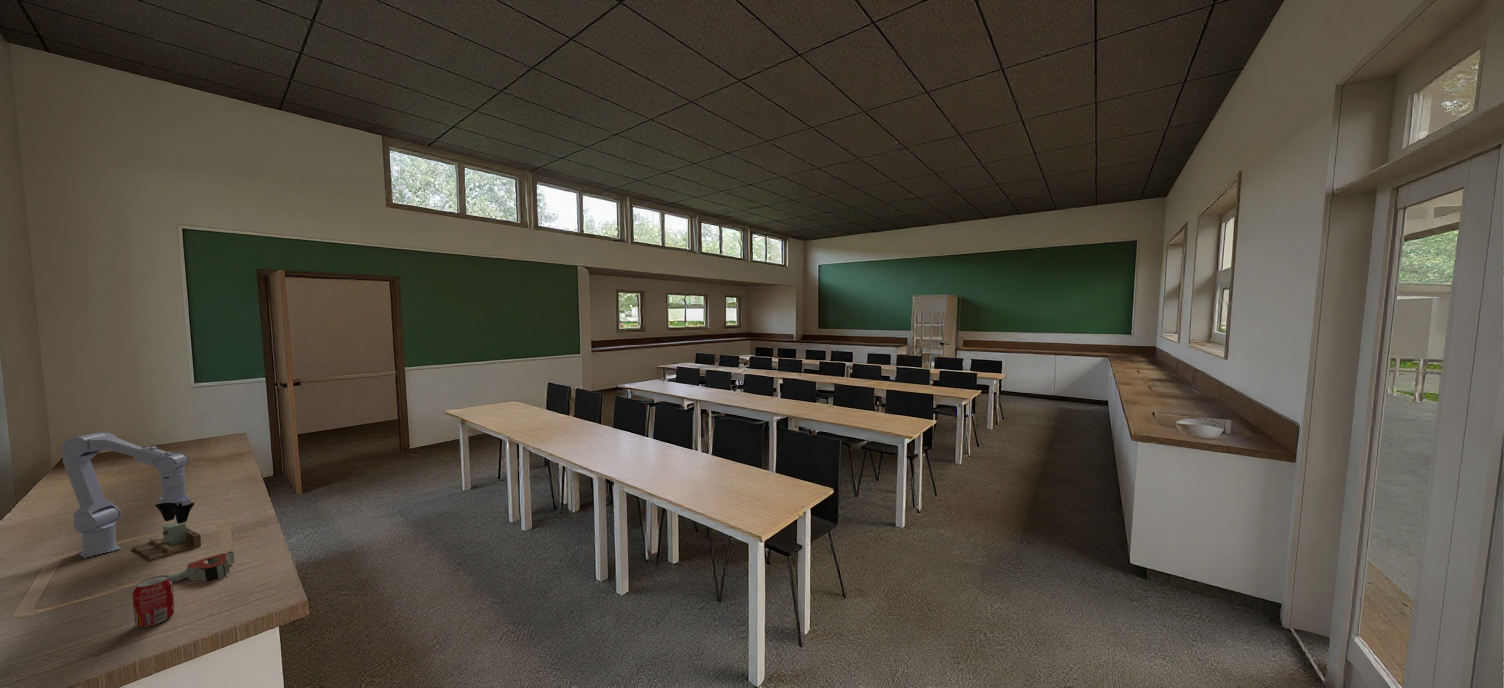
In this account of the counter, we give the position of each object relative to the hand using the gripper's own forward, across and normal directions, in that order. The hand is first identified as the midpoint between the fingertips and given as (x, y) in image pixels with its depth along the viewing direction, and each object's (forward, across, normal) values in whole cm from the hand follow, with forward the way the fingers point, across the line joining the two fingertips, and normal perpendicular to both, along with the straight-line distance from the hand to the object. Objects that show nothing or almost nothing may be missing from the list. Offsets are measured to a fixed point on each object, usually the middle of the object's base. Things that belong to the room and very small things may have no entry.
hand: (175, 521), depth 178 cm
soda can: (+9, +60, -31) cm, 68 cm away
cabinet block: (+8, 0, 0) cm, 8 cm away
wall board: (+9, 0, -2) cm, 9 cm away
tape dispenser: (+10, +39, -12) cm, 42 cm away
